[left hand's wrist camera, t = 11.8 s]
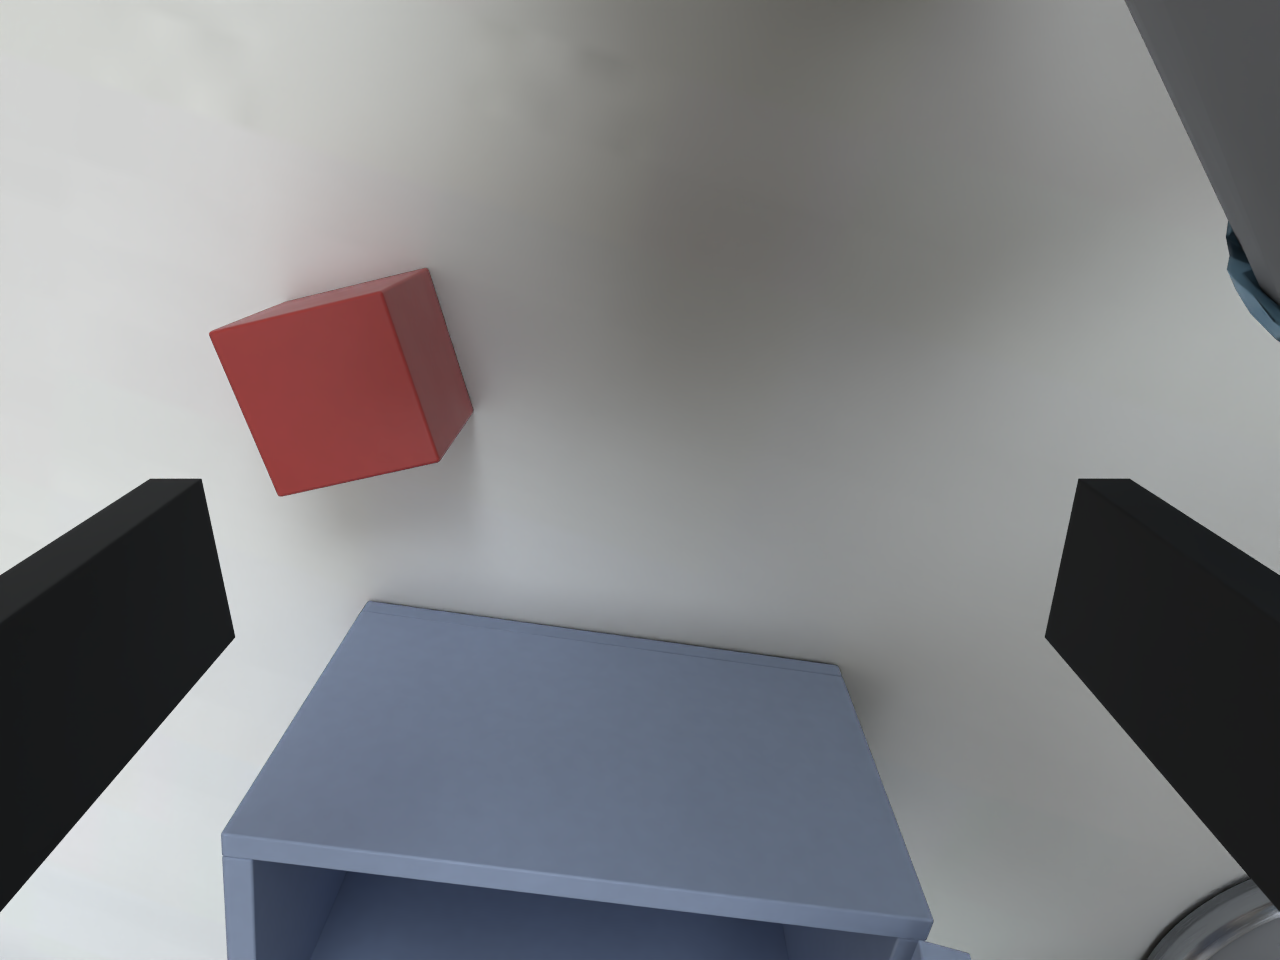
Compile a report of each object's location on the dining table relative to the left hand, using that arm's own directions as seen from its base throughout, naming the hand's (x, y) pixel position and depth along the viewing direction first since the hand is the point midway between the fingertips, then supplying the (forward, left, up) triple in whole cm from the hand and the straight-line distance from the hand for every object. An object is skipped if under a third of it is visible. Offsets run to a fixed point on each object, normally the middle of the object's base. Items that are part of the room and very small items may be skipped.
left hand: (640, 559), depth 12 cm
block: (-7, -5, -14) cm, 16 cm away
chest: (+7, -14, -14) cm, 21 cm away
